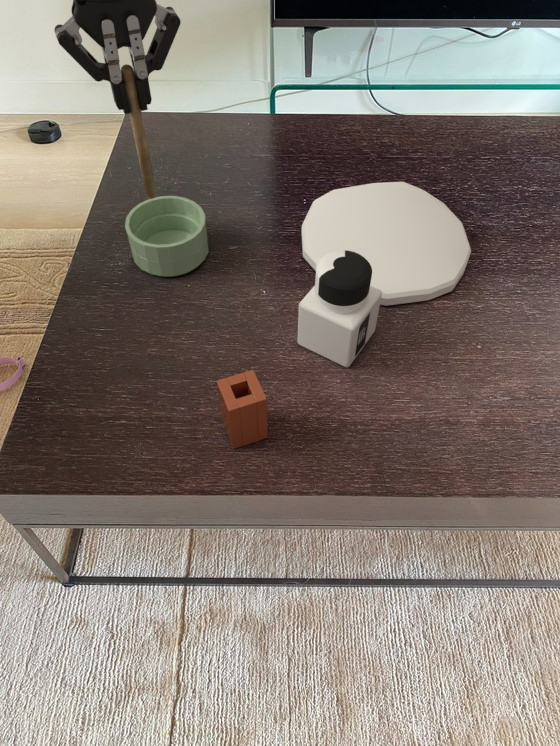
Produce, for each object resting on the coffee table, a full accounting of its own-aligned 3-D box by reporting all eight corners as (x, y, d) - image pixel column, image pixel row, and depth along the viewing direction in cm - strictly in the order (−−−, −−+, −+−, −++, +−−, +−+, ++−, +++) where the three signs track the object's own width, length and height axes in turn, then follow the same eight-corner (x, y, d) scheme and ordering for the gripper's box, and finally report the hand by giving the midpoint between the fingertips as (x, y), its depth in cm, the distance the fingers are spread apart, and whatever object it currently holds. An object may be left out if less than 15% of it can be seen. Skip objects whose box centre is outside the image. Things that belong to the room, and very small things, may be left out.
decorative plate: (283, 184, 95) (435, 163, 99) (283, 206, 99) (429, 185, 102) (327, 298, 81) (503, 269, 84) (325, 320, 84) (495, 291, 87)
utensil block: (233, 449, 72) (228, 410, 65) (221, 420, 74) (216, 380, 68) (267, 437, 73) (266, 398, 66) (255, 409, 75) (253, 369, 69)
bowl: (143, 287, 88) (135, 255, 83) (125, 238, 94) (117, 206, 89) (218, 267, 90) (215, 235, 85) (196, 221, 96) (192, 188, 92)
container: (375, 331, 83) (389, 257, 72) (347, 369, 79) (358, 297, 68) (325, 308, 85) (332, 234, 75) (296, 344, 81) (298, 271, 71)
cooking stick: (148, 202, 81) (121, 69, 67) (145, 195, 82) (118, 63, 68) (158, 199, 81) (133, 66, 67) (155, 193, 82) (130, 60, 68)
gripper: (161, -89, 61) (182, 82, 75) (19, -72, 58) (69, 104, 72) (181, -63, 57) (200, 113, 71) (30, -43, 54) (81, 138, 68)
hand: (134, 108), depth 71 cm, fingers closed on cooking stick, 1 cm apart
